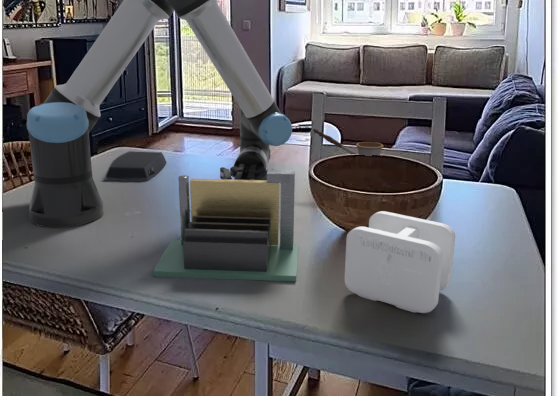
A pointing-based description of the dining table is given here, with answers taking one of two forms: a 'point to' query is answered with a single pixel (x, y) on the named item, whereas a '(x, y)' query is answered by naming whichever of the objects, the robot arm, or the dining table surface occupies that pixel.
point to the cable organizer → (400, 261)
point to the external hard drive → (136, 166)
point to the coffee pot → (363, 147)
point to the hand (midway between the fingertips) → (238, 194)
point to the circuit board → (278, 269)
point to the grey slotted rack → (235, 232)
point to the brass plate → (236, 200)
